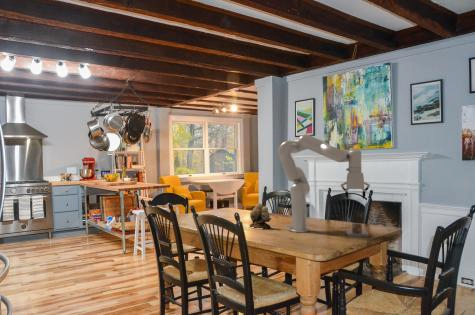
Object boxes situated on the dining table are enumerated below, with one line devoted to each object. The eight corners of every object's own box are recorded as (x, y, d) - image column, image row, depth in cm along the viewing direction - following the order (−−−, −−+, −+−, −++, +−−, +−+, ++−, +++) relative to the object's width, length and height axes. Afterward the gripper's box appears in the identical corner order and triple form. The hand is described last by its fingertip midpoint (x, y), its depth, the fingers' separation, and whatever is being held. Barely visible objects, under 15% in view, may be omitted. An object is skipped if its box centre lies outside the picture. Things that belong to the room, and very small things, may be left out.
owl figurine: (275, 227, 259) (275, 203, 259) (265, 230, 250) (265, 205, 250) (255, 225, 271) (255, 201, 271) (245, 227, 262) (244, 203, 262)
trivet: (348, 236, 224) (348, 233, 224) (345, 232, 235) (345, 230, 235) (369, 237, 221) (368, 234, 222) (365, 233, 233) (365, 230, 233)
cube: (353, 232, 226) (353, 224, 227) (352, 231, 231) (352, 223, 231) (361, 233, 226) (361, 224, 226) (360, 231, 231) (360, 223, 231)
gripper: (341, 170, 227) (341, 198, 227) (370, 170, 224) (371, 199, 224) (339, 170, 235) (340, 197, 234) (368, 170, 231) (369, 197, 231)
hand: (355, 198), depth 229 cm, fingers open, 9 cm apart
